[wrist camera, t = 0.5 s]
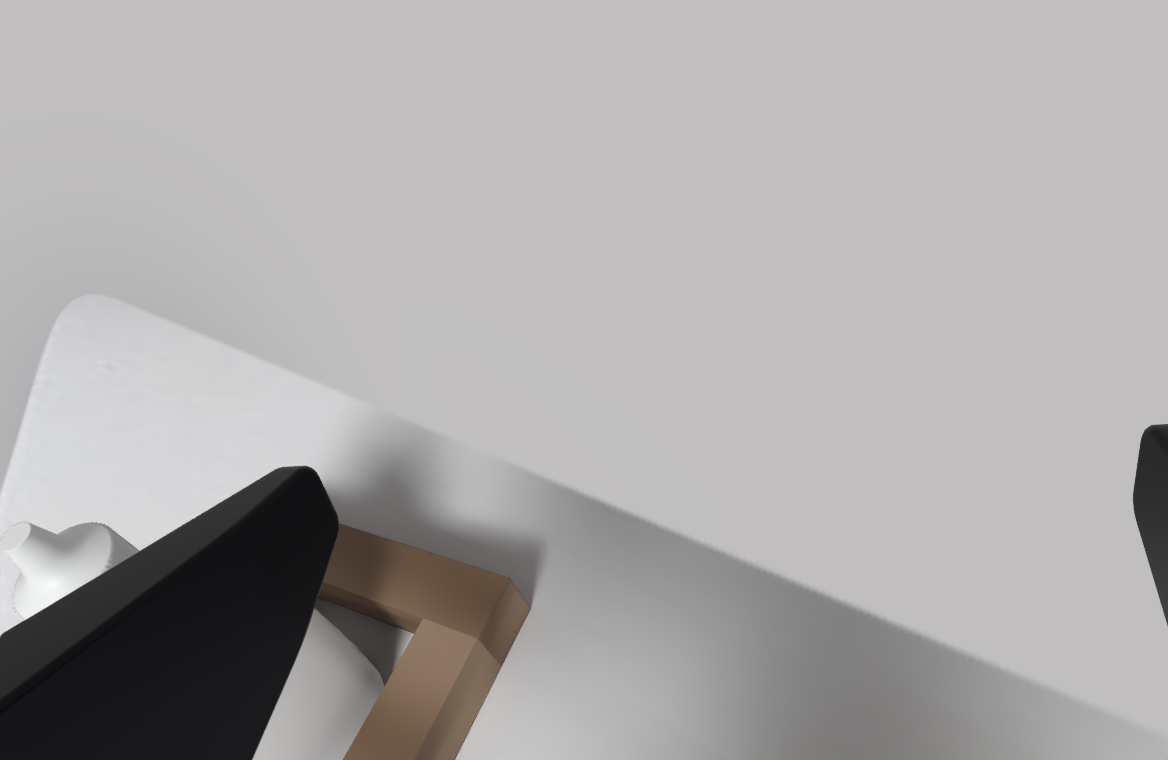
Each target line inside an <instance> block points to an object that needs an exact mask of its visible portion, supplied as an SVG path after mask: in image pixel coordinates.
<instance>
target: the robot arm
mask: <svg viewBox="0 0 1168 760" xmlns="http://www.w3.org/2000/svg"><path fill="white" fill-rule="evenodd" d="M1133 504H1134V513H1135V517H1136V521H1137V525H1138V528H1139V531H1140V535H1141V538H1142V541H1143V545H1144V548H1145V551H1146V555H1147V558H1148V561H1149V564H1150V568H1151V571H1152V575H1153V578H1154V581H1155V585H1156V588H1157V592H1158V594H1159V598H1160V601H1161V605H1162V608H1163V611H1164V615H1165V618H1166V622H1167V625H1168V424H1164V425H1163V424H1162V425H1151V426H1150V427H1148V428H1147V429H1146V430H1145V431H1144V433H1143V436H1142V438H1141V443H1140V450H1139V457H1138V464H1137V471H1136V477H1135V484H1134V492H1133ZM338 532H339V521H338V516H337V513H336V511H335V509H334V507H333V505H332V503H331V500H330V498H329V496H328V494H327V492H326V490H325V488H324V486H323V484H322V482H321V480H320V477H319V476H318V474H317V472H316V471H315V470H314V469H312V468H311V467H308V466H293V467H281V468H278V469H276V470H274V471H272V472H270V473H269V474H267V475H265V476H264V477H262V478H260V479H259V480H257V481H255V482H254V483H252V484H250V485H249V486H247V487H246V488H244V489H242V490H241V491H239V492H237V493H236V494H234V495H232V496H231V497H229V498H227V499H226V500H224V501H222V502H221V503H219V504H217V505H216V506H214V507H212V508H211V509H209V510H207V511H206V512H204V513H202V514H201V515H199V516H197V517H196V518H194V519H192V520H191V521H189V522H187V523H186V524H184V525H182V526H181V527H179V528H177V529H176V530H174V531H172V532H171V533H169V534H167V535H166V536H164V537H162V538H161V539H159V540H157V541H156V542H154V543H152V544H151V545H149V546H147V547H146V548H144V549H142V550H141V551H139V552H137V553H136V554H134V555H132V556H131V557H129V558H127V559H126V560H124V561H122V562H121V563H119V564H117V565H116V566H114V567H112V568H111V569H109V570H107V571H106V572H104V573H102V574H101V575H99V576H97V577H96V578H94V579H92V580H91V581H89V582H87V583H86V584H84V585H82V586H81V587H79V588H78V589H76V590H74V591H73V592H71V593H69V594H68V595H66V596H64V597H63V598H61V599H59V600H58V601H56V602H54V603H53V604H51V605H49V606H48V607H46V608H44V609H43V610H41V611H39V612H38V613H36V614H34V615H33V616H31V617H29V618H28V619H26V620H24V621H23V622H21V623H19V624H18V625H16V626H14V627H13V628H11V629H9V630H8V631H6V632H4V633H3V634H2V635H1V636H0V760H253V757H254V755H255V753H256V751H257V748H258V746H259V744H260V741H261V739H262V737H263V734H264V732H265V730H266V728H267V725H268V723H269V721H270V718H271V716H272V714H273V712H274V709H275V707H276V705H277V702H278V700H279V698H280V695H281V693H282V691H283V689H284V686H285V684H286V682H287V679H288V677H289V675H290V673H291V670H292V668H293V666H294V663H295V661H296V659H297V656H298V654H299V651H300V649H301V646H302V644H303V641H304V638H305V635H306V633H307V630H308V627H309V624H310V621H311V618H312V615H313V612H314V608H315V605H316V602H317V599H318V596H319V593H320V590H321V587H322V584H323V581H324V577H325V574H326V571H327V568H328V565H329V562H330V559H331V556H332V553H333V549H334V546H335V543H336V540H337V537H338Z"/></svg>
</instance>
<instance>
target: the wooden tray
mask: <svg viewBox="0 0 1168 760" xmlns="http://www.w3.org/2000/svg"><path fill="white" fill-rule="evenodd" d="M318 597H319V598H322V599H325V600H327V601H330V602H333V603H335V604H338V605H340V606H343V607H346V608H348V609H351V610H354V611H356V612H359V613H361V614H364V615H367V616H369V617H372V618H375V619H377V620H380V621H383V622H385V623H388V624H390V625H393V626H396V627H398V628H401V629H404V630H406V631H409V632H411V633H414V635H413V637H412V639H411V641H410V643H409V644H408V646H407V648H406V650H405V651H404V653H403V655H402V657H401V658H400V660H399V662H398V664H397V665H396V667H395V669H394V671H393V672H392V674H391V676H390V678H389V679H388V681H387V683H386V685H385V686H384V688H383V690H382V692H381V693H380V695H379V697H378V699H377V700H376V702H375V704H374V706H373V707H372V709H371V711H370V713H369V714H368V716H367V718H366V720H365V721H364V723H363V725H362V727H361V728H360V730H359V732H358V734H357V735H356V737H355V739H354V741H353V742H352V744H351V746H350V748H349V749H348V751H347V753H346V755H345V756H344V758H343V760H455V758H456V756H457V754H458V752H459V750H460V748H461V746H462V744H463V742H464V740H465V738H466V736H467V734H468V732H469V730H470V728H471V726H472V724H473V722H474V720H475V718H476V716H477V714H478V712H479V710H480V708H481V706H482V704H483V702H484V700H485V698H486V696H487V694H488V692H489V690H490V688H491V686H492V684H493V682H494V680H495V678H496V676H497V674H498V672H499V670H500V668H501V666H502V664H503V662H504V660H505V658H506V656H507V654H508V652H509V650H510V648H511V646H512V644H513V642H514V640H515V638H516V636H517V634H518V632H519V630H520V628H521V626H522V624H523V622H524V620H525V618H526V616H527V614H528V612H529V610H530V607H529V605H528V604H527V602H526V601H525V600H524V598H523V597H522V595H521V594H520V592H519V591H518V590H517V588H516V587H515V585H514V584H513V582H512V581H511V579H510V578H508V577H505V576H502V575H499V574H495V573H492V572H489V571H486V570H483V569H480V568H477V567H473V566H470V565H467V564H464V563H461V562H458V561H455V560H452V559H448V558H445V557H442V556H439V555H436V554H433V553H430V552H427V551H423V550H420V549H417V548H414V547H411V546H408V545H405V544H401V543H398V542H395V541H392V540H389V539H386V538H383V537H380V536H376V535H373V534H370V533H367V532H364V531H361V530H358V529H354V528H351V527H348V526H345V525H342V524H339V532H338V537H337V540H336V543H335V546H334V549H333V553H332V556H331V559H330V562H329V565H328V568H327V571H326V574H325V577H324V581H323V584H322V587H321V590H320V593H319V596H318Z"/></svg>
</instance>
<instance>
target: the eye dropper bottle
mask: <svg viewBox="0 0 1168 760" xmlns="http://www.w3.org/2000/svg"><path fill="white" fill-rule="evenodd" d="M0 549H1V551H2V552H3V553H4V554H5V555H6V556H7V557H8V558H9V559H10V560H11V561H12V562H13V564H14V565H15V566H16V567H17V568H18V569H19V570H20V571H21V572H20V574H19V576H18V578H17V581H16V584H15V587H14V591H13V605H14V609H15V612H16V613H17V615H18V616H19V617H20V618H21V619H23V620H26V619H28V618H29V617H31V616H33V615H34V614H36V613H38V612H39V611H41V610H43V609H44V608H46V607H48V606H49V605H51V604H53V603H54V602H56V601H58V600H59V599H61V598H63V597H64V596H66V595H68V594H69V593H71V592H73V591H74V590H76V589H78V588H79V587H81V586H82V585H84V584H86V583H87V582H89V581H91V580H92V579H94V578H96V577H97V576H99V575H101V574H102V573H104V572H106V571H107V570H109V569H111V568H112V567H114V566H116V565H117V564H119V563H121V562H122V561H124V560H126V559H127V558H129V557H131V556H132V555H134V554H136V553H137V552H139V550H138V549H137V548H135V547H134V546H133V545H132V544H130V543H129V542H128V541H126V540H125V539H124V538H123V537H121V536H120V535H119V534H117V533H116V532H115V531H114V530H112V529H111V528H110V527H108V526H106V525H105V524H101V523H97V522H96V523H93V522H92V523H84V524H80V525H76V526H73V527H70V528H68V529H66V530H64V531H62V532H60V533H58V534H55V533H52V532H50V531H48V530H45V529H43V528H40V527H38V526H36V525H33V524H31V523H28V522H20V523H17V524H15V525H14V526H12V527H11V528H10V529H8V530H7V531H6V532H5V534H4V535H3V536H2V538H1V540H0ZM383 688H384V684H383V681H382V678H381V675H380V673H379V672H378V671H377V669H376V668H375V667H374V666H373V664H372V663H371V662H370V661H369V660H368V659H367V657H366V656H365V655H364V654H363V653H362V652H361V651H360V650H359V649H358V647H357V646H356V645H354V644H353V643H352V642H351V641H350V640H349V639H348V638H347V637H346V636H345V635H344V634H343V633H341V632H340V631H339V630H338V629H337V628H336V627H335V626H334V625H333V624H332V623H330V622H329V621H328V620H327V619H326V618H325V617H324V616H323V615H322V614H321V613H319V612H318V611H317V610H316V609H315V608H314V612H313V615H312V618H311V621H310V624H309V627H308V630H307V633H306V635H305V638H304V641H303V644H302V646H301V649H300V651H299V654H298V656H297V659H296V661H295V663H294V666H293V668H292V670H291V673H290V675H289V677H288V679H287V682H286V684H285V686H284V689H283V691H282V693H281V695H280V698H279V700H278V702H277V705H276V707H275V709H274V712H273V714H272V716H271V718H270V721H269V723H268V725H267V728H266V730H265V732H264V734H263V737H262V739H261V741H260V744H259V746H258V748H257V751H256V753H255V755H254V757H253V760H343V758H344V756H345V755H346V753H347V751H348V749H349V748H350V746H351V744H352V742H353V741H354V739H355V737H356V735H357V734H358V732H359V730H360V728H361V727H362V725H363V723H364V721H365V720H366V718H367V716H368V714H369V713H370V711H371V709H372V707H373V706H374V704H375V702H376V700H377V699H378V697H379V695H380V693H381V692H382V690H383Z"/></svg>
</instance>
